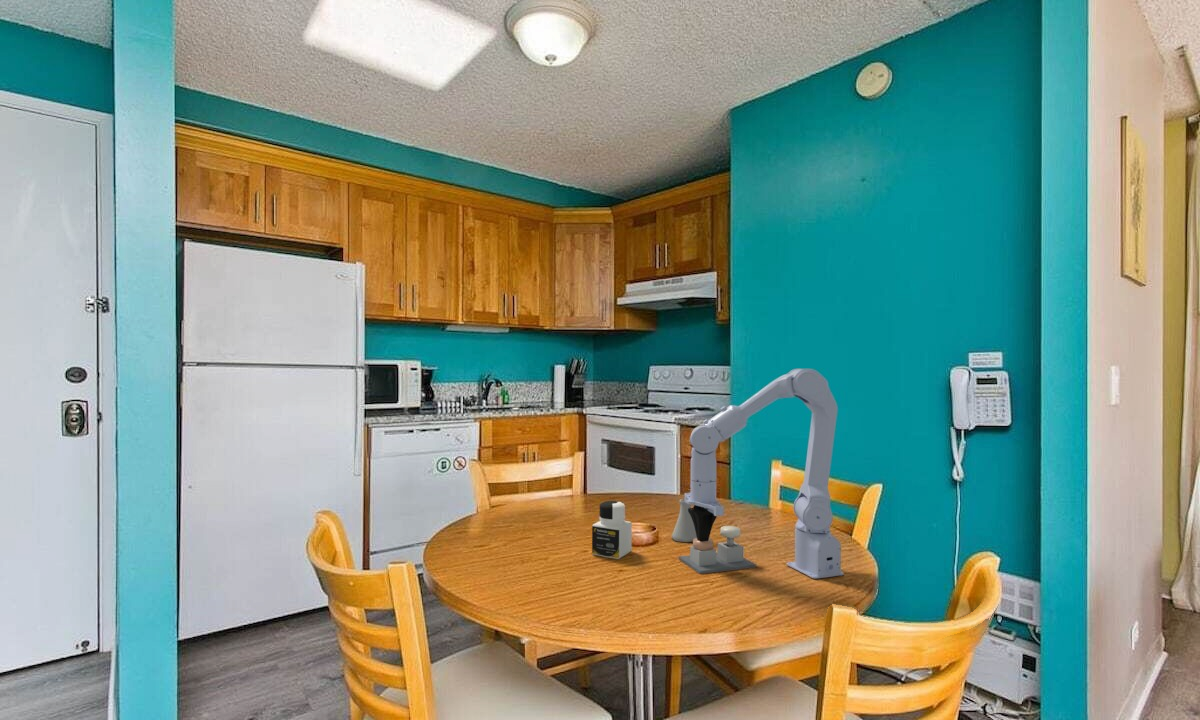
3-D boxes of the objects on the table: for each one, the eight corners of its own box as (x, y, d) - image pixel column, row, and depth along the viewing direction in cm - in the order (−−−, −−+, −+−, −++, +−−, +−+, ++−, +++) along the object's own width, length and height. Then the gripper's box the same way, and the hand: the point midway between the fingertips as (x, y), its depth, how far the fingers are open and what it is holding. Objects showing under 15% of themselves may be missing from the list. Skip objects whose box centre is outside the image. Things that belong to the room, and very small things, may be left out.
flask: (698, 535, 156) (699, 497, 156) (700, 543, 148) (700, 503, 148) (670, 534, 156) (671, 496, 156) (671, 542, 149) (671, 502, 149)
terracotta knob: (716, 562, 131) (716, 542, 131) (698, 564, 130) (699, 544, 130) (706, 556, 135) (706, 536, 135) (689, 558, 134) (689, 538, 134)
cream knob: (744, 550, 134) (744, 530, 134) (726, 552, 132) (727, 531, 132) (733, 544, 138) (733, 525, 138) (716, 546, 136) (716, 526, 136)
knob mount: (756, 567, 131) (756, 549, 131) (699, 573, 127) (700, 556, 127) (731, 553, 141) (731, 537, 141) (678, 559, 136) (678, 542, 136)
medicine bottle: (591, 555, 139) (591, 503, 139) (605, 546, 145) (605, 497, 145) (618, 559, 135) (619, 507, 136) (631, 551, 142) (632, 501, 142)
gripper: (672, 475, 138) (672, 533, 138) (703, 487, 125) (703, 552, 124) (699, 473, 141) (699, 530, 140) (732, 485, 127) (732, 549, 127)
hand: (702, 540), depth 133 cm, fingers closed, pressing on terracotta knob
